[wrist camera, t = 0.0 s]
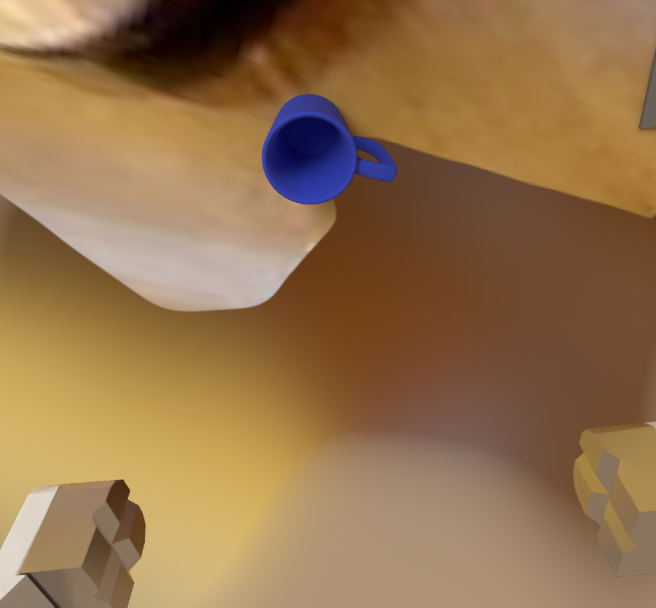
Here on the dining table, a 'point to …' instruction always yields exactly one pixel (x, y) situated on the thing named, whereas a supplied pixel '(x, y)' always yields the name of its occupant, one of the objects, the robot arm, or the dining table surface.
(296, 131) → the mug
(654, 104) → the mat
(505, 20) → the dining table surface
